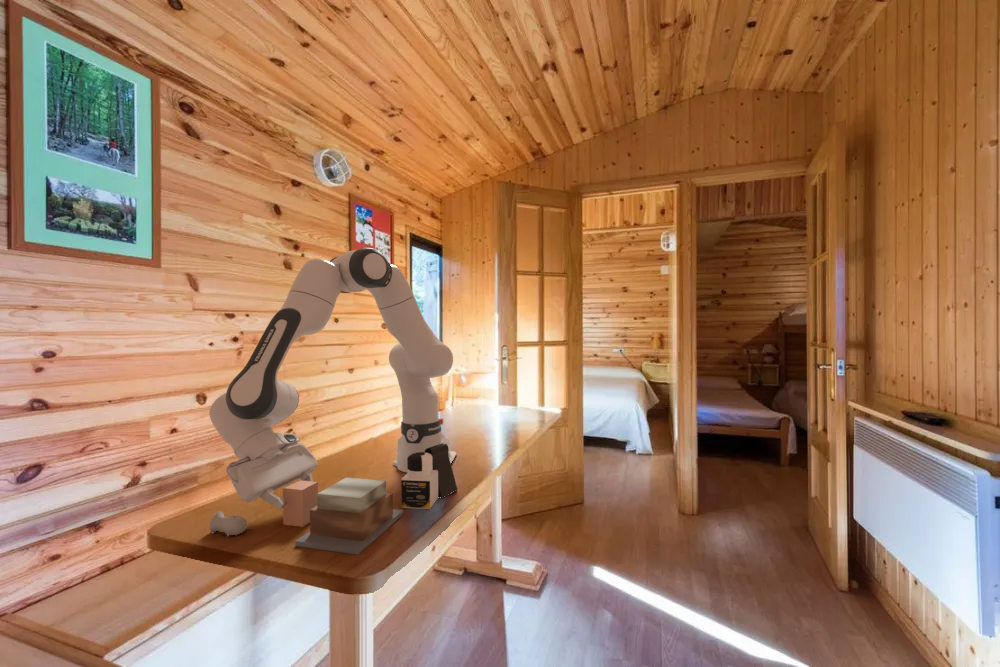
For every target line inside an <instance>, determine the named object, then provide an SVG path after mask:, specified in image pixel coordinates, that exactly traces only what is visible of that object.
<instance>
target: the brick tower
mask: <svg viewBox="0 0 1000 667" xmlns="http://www.w3.org/2000/svg"><path fill="white" fill-rule="evenodd" d="M393 499H394V498H393V492H387V481H386V480H383V479H382V480H379V479H369V478H357V477H347V476H346V477H344V478H343V479H341V480H339V481H337V482H336V483H334V484H332V485H331V486H328V487H326V488H325V489H323V490H322V491H318V494H317V506H316V507H314V508H312V509H310V522H309V532H310V534H311V535H318V536H326V537H334V538H341V539H349V540H357V541H363V540H364V539H366V538H367V537H368V536H369V535H370V534H371V533H373V532H374V531H375V530H376V529H377V528H379V527H380V526H381V525H382V524H383V523H384V522H386V521H387V520H388V519H389V518H390V517H391V516H393V509H394V508H393V504H394V503H393V502H394V500H393Z"/></svg>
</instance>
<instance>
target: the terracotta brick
mask: <svg viewBox="0 0 1000 667" xmlns="http://www.w3.org/2000/svg"><path fill="white" fill-rule="evenodd" d="M318 484H319V482H318V481H313V482H312V481H302V480H301V479H298V480H296V481H293V482H291V483H289V484H287V485H285V486H283V487H282V497H284V499H285V500H286V501H287V504H286V505H285V506H284V507H283V508H282V510H283V511H282V513H283V516H282V518H283V520H282V521H283V522H282V524H283V525H284V526H294V527H301V528H303V527H305V526H306V525H308V524H310V509H312V508H314V507H316V506H317V494H318V493H319V491H318V490H319V487H318V486H319V485H318Z"/></svg>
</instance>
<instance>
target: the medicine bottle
mask: <svg viewBox="0 0 1000 667" xmlns="http://www.w3.org/2000/svg"><path fill="white" fill-rule="evenodd" d="M407 470H408V472H406V474H404V476H403V477H401V480H400V481H401V482H400V484H401V485H400V488H401V489H400V490H401V508H402V509H417V510H418V509H419V510H431V508H432V507H433V506H434V504H435V503H436V501H437V500H438V499H439V498H438V471H437V470H433V465H432V455H431V454H429V453H426V452H418V453H413V454H411V455H409V456H408V458H407Z"/></svg>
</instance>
